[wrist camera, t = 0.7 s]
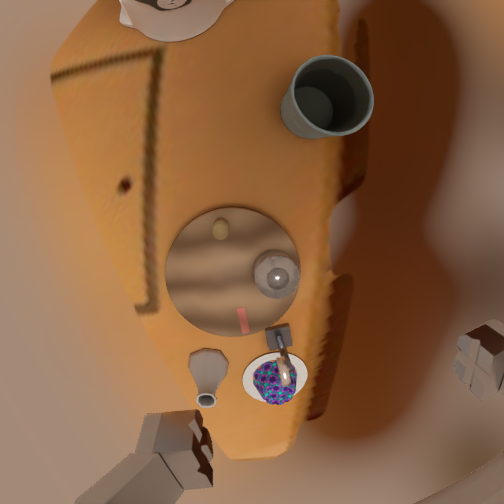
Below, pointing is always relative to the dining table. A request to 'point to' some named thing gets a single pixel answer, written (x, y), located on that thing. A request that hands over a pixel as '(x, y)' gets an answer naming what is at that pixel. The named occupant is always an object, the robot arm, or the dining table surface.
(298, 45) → the dining table surface
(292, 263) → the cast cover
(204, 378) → the flask
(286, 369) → the grey knobbed rod
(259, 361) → the pudding
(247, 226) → the turntable
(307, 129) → the grey green cup
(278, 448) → the dining table surface
